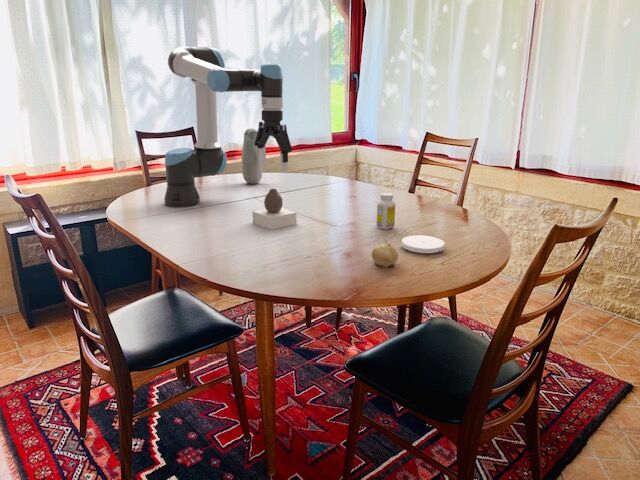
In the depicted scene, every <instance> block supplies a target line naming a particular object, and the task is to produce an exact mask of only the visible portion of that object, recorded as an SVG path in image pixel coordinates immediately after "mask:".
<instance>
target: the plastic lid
mask: <svg viewBox="0 0 640 480" xmlns="http://www.w3.org/2000/svg"><path fill="white" fill-rule="evenodd" d="M445 244H446V243H445V241H444V240H442V239H441V238H438V237H434V236H430V235H421V234H419V235H418V234H416V235H409V236H408V235H407V236H405V237H403V238H402V239H401V247H402V248H403V249H405V250H407V251H409V252H413V253H418V254H435V253H436V252H437V253H439V252H438V251H440V252H442V251H444V250H445ZM443 249H444V250H443ZM441 250H442V251H441Z"/></svg>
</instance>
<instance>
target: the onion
mask: <svg viewBox="0 0 640 480" xmlns="http://www.w3.org/2000/svg"><path fill="white" fill-rule="evenodd" d="M384 242H385V243H381V244H378V245H377V246H375V247H374V248H373V250H372V252H371V257H372V260H373V262H374V264H375V265H376V264H377V265H376V266H378V265H379V266H378V267H383V266H385V268H387V267H386V266H389V267H390V266H391V265H392V266H393V265H395V264H396V263H397V261H398V259H399V252H398V250H397V249H396V247H395V246H394V245H393V244H392V243H391V242H390V241H387V240H384Z"/></svg>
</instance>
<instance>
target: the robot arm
mask: <svg viewBox="0 0 640 480" xmlns="http://www.w3.org/2000/svg"><path fill="white" fill-rule="evenodd" d="M167 64H168V68H169V69H170V71H171V72H172V73H173V74H174V75H176V76H178V77H181V78H191V82H192V83H193V84H194V86H195V110H196V131H197V132H196V133H197V134H196V135H197V142H196V143H194V145H193V147H194V150H193V148H191V147H180V148H174V149H170V150H169V151H167V152H166V153H165V156H164V166H165V176H166V190H165V194H164V199H163V200H164V201H163V202H164V205H166V206H169V207H174V208H175V207H176V208H177V207H179V208H180V207H181V208H182V207H191V206H195V205H198V204H200V202H201V198H200V195H199V192H198V190H197V187H196V183H195V178H201V177H207V176H215V175H220V174H222V173H223V172H224V171H225V169H226V167H227V163H228V162H227V161H228V160H227V153H226V151H225V149H223V148H222V145H221V144H220V142H218V113H217V111H218V110H217V92H218V93H224V92H260V94H261V95H260V97H261V109H262V110H261V120H262V121H259V122H258V127H257V128H258V129H257V131H258V132H257V136H256V140H255V143H254V145H255V146H257V148H258V155H259V166H262V167H263V166H266V165H267V159H266V158H267V155H266V154H267V152H266V151H267V150H266V144H267V142H268V141H269V139H270V137H272V138H274V139H275V141H276V143H277V146H278V148H279V149H280V152H279V159H280V160H279V162H280V163H279V167H280V168H279V171H280V172H282V173H283V172H288V170H289V169H288V165H289V164H288V162H289V153H292V152H293V148H292V145H291V141H290V138H289V133H288V130H287V128H288V127H287V124H281V121H283V116H284V115H283V110H282V109H283V108H284V107H283V106H284V105H283V104H284V103H283V67H282V65H281V64H280V63H279V64H278V63H277V64H276V63H273V64H272V63H262V64H260V69H254V68H252V69H251V68H250V69H238V68H237V69H233V68H231V69H230V68H229V69H228V68H226V64H225V59H224V57H223V54H222V53H221V51H220V50H219V49H217V48H215V47H208V46H206V47H204V46H202V47H201V46H187V45H186V46H179V47H177V48H176V47H175V48H173V50H172V51H171V52H170V53H169V55H168V59H167Z"/></svg>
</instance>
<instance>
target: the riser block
mask: <svg viewBox="0 0 640 480" xmlns="http://www.w3.org/2000/svg"><path fill="white" fill-rule="evenodd" d="M251 214H252V223H254V224H255V225H258V226H261V227H263V228H266V229H268V230H272V231H273V230H275V229H280V228H285V227H288V226H289V227H290V226H293V225H297V212H296V211H293V210H290V209H287V208H284V207H282V208H281V210H280V211H279V212H278V213H269V212H268V211H267V210H266V208H262V209H257V210H253V211H252V213H251Z"/></svg>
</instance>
